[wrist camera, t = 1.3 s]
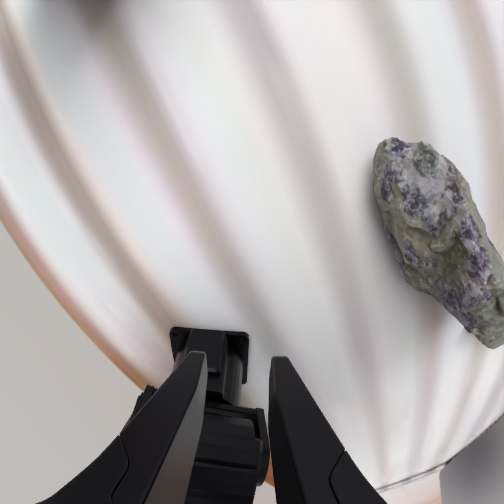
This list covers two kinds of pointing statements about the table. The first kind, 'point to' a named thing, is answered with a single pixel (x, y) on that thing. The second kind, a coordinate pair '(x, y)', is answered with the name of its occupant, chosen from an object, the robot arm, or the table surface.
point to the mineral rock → (440, 235)
